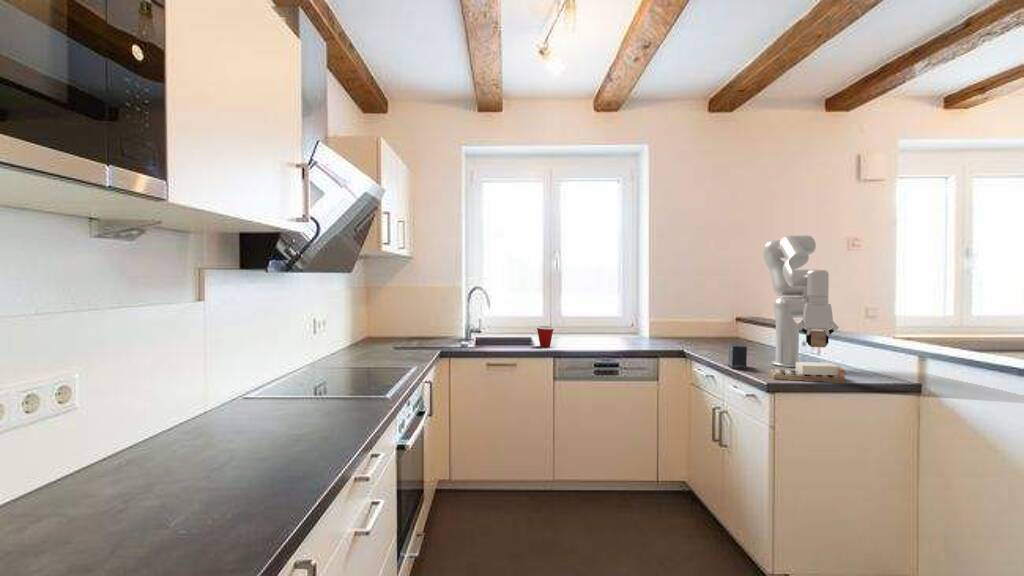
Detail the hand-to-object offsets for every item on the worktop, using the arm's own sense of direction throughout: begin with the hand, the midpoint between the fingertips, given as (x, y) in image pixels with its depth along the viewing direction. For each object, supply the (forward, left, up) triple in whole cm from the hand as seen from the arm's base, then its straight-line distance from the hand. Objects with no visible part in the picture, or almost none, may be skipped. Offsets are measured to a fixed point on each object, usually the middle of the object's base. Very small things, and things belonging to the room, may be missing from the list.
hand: (817, 344), depth 209 cm
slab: (-1, 0, -12) cm, 12 cm away
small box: (-17, -29, -14) cm, 37 cm away
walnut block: (0, 0, -1) cm, 1 cm away
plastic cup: (-51, -131, -14) cm, 141 cm away
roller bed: (0, -4, -14) cm, 14 cm away
